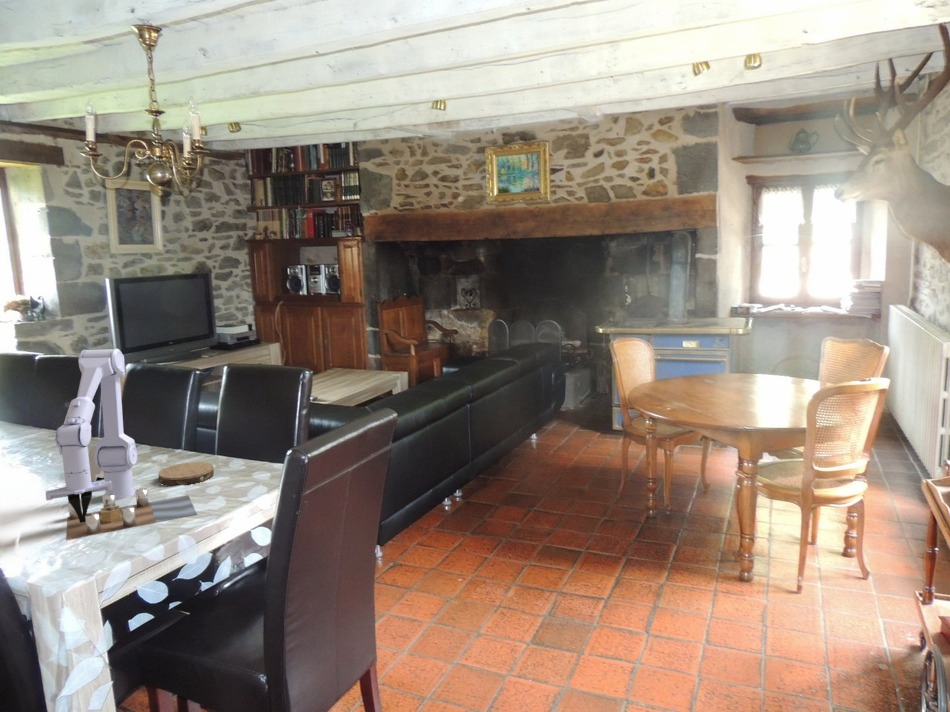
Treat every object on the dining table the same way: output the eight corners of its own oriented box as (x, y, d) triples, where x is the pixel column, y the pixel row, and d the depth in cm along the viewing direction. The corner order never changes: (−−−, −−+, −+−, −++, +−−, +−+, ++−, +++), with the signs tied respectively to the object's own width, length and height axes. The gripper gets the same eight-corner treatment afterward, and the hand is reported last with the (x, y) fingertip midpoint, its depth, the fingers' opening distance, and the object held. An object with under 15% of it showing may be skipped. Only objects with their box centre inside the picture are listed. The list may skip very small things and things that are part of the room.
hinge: (79, 471, 225) (87, 441, 226) (94, 472, 228) (102, 443, 229) (94, 482, 213) (103, 450, 214) (110, 483, 216) (118, 452, 217)
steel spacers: (69, 516, 181) (67, 500, 181) (148, 502, 191) (146, 487, 190) (68, 538, 167) (66, 521, 166) (153, 522, 176) (152, 505, 175)
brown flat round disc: (148, 483, 211) (147, 473, 211) (190, 468, 225) (189, 459, 225) (183, 490, 204) (182, 480, 204) (224, 474, 218) (224, 465, 217)
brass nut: (101, 518, 180) (100, 507, 179) (119, 514, 182) (118, 504, 182) (101, 524, 176) (100, 513, 175) (120, 521, 178) (119, 509, 177)
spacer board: (68, 519, 182) (67, 516, 182) (188, 497, 196) (188, 495, 196) (66, 543, 166) (66, 540, 166) (197, 517, 181) (197, 514, 181)
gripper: (42, 479, 167) (49, 532, 169) (109, 469, 174) (115, 520, 176) (44, 472, 173) (50, 523, 175) (109, 462, 180) (114, 511, 182)
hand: (83, 521), depth 176 cm, fingers closed
